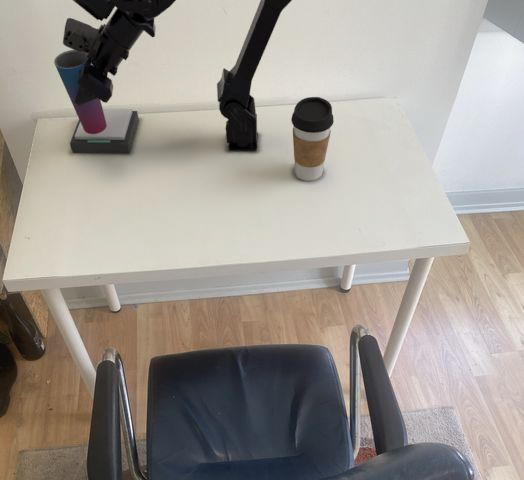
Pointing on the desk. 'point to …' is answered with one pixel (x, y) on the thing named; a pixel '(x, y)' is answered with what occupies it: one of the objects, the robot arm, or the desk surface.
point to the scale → (108, 134)
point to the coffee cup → (311, 136)
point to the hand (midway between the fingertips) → (78, 95)
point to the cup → (69, 72)
